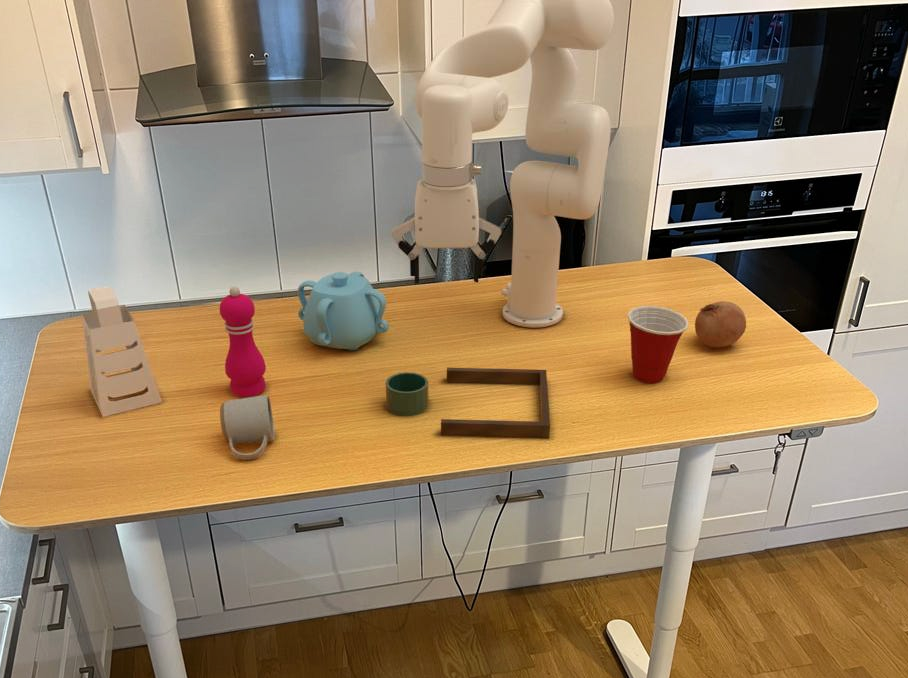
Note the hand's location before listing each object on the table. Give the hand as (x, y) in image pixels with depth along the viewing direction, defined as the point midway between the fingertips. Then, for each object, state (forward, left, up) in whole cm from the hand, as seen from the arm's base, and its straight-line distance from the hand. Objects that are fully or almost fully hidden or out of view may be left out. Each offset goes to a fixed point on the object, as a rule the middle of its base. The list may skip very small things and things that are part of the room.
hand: (446, 279), depth 151 cm
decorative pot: (-33, -1, -24) cm, 41 cm away
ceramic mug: (-9, -34, -24) cm, 42 cm away
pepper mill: (-26, -26, -24) cm, 44 cm away
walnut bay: (+6, +6, -24) cm, 25 cm away
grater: (-37, -45, -24) cm, 63 cm away
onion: (+14, +56, -24) cm, 63 cm away
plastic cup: (+15, +36, -24) cm, 46 cm away
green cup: (-4, -6, -24) cm, 25 cm away
